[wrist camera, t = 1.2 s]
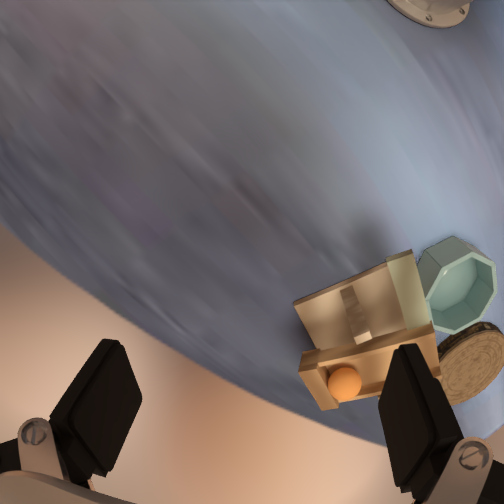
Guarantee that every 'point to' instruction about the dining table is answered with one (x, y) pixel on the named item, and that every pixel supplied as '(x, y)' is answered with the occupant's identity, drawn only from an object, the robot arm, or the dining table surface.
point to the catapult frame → (352, 310)
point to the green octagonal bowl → (456, 284)
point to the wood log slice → (470, 360)
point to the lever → (376, 342)
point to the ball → (344, 384)
